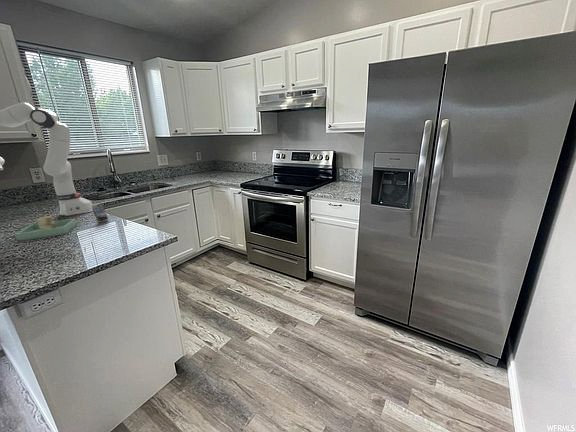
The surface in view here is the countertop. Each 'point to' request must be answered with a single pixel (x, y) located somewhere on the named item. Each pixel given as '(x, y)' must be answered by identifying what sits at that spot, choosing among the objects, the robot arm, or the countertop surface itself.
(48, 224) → the maple block
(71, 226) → the tray
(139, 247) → the countertop surface
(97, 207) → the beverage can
